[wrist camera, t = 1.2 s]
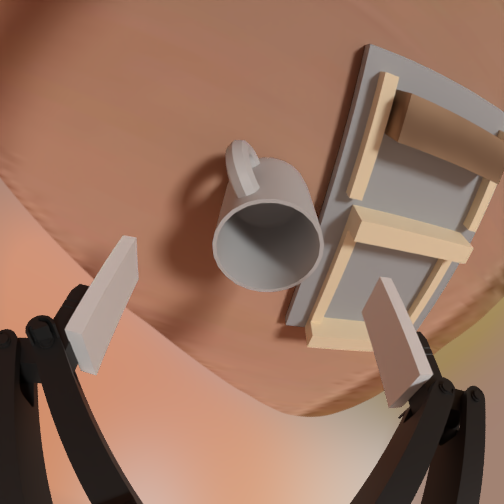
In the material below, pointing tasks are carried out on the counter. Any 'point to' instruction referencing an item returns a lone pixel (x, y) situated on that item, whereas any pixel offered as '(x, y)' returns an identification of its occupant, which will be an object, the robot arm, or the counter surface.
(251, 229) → the cup
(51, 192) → the counter surface
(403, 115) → the brown rounded bar
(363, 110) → the jig
